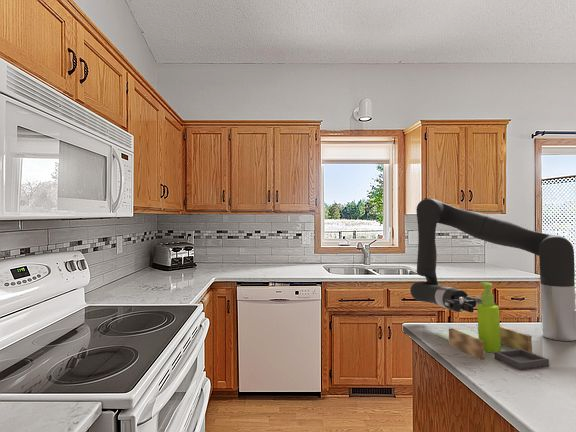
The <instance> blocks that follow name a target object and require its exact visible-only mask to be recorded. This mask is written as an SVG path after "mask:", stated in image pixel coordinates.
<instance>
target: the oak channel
mask: <svg viewBox="0 0 576 432" xmlns="http://www.w3.org/2000/svg"><path fill="white" fill-rule="evenodd" d="M448 331H449V341H448V345H449V346H452V347H453V348H456V349H458V350H460V351H462V352H464V353H466V354H469V355H470V356H472V357H475V358H476V359H479V360H485V351H484V341H482V340H480V339H477V338H475V337H472V336H470V335H467V334H465V333H462V332H460V331H458V330H457V329H455V328H448ZM532 342H533V341H532V335H529V334H527V333H523V332H521V331H518V330H514V329H512V328H508V327H505V326H502V325H500V344H503V345H506V346H508V347H511V348H513V349H514V350H516V349H523V350H525V351H528V352H531V353H533V344H532Z"/></svg>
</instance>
